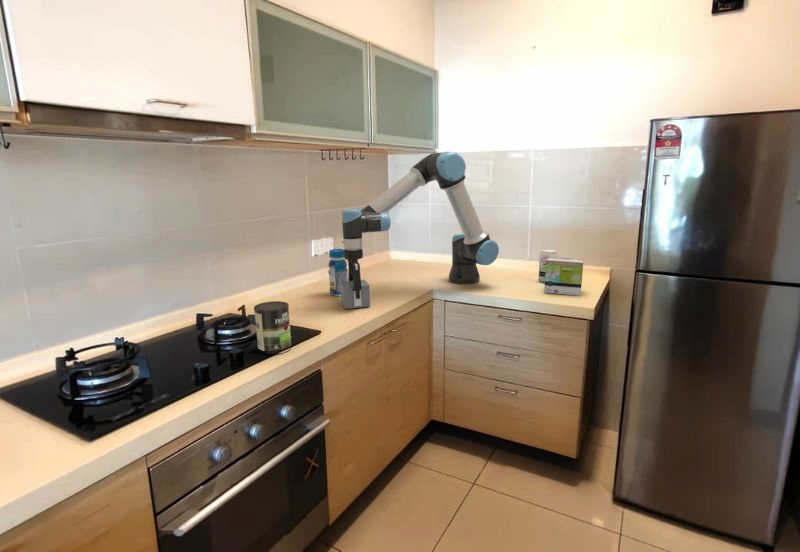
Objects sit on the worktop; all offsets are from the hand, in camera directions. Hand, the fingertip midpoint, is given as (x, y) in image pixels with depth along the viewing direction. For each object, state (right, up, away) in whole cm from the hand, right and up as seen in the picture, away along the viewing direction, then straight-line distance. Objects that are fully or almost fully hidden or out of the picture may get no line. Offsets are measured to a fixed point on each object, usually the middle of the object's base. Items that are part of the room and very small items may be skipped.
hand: (355, 302), depth 188 cm
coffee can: (-21, -12, -44) cm, 50 cm away
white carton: (+89, +8, +32) cm, 94 cm away
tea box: (+89, +4, +13) cm, 90 cm away
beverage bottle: (-9, +3, +18) cm, 20 cm away
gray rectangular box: (0, -1, 0) cm, 1 cm away
